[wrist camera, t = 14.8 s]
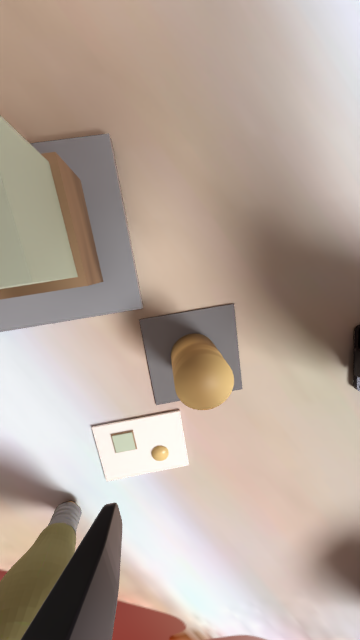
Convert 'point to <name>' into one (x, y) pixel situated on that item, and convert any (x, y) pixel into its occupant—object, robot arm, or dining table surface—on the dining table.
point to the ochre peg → (200, 372)
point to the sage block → (29, 216)
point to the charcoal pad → (174, 326)
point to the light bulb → (37, 572)
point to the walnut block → (68, 234)
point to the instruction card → (141, 445)
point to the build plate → (109, 236)
